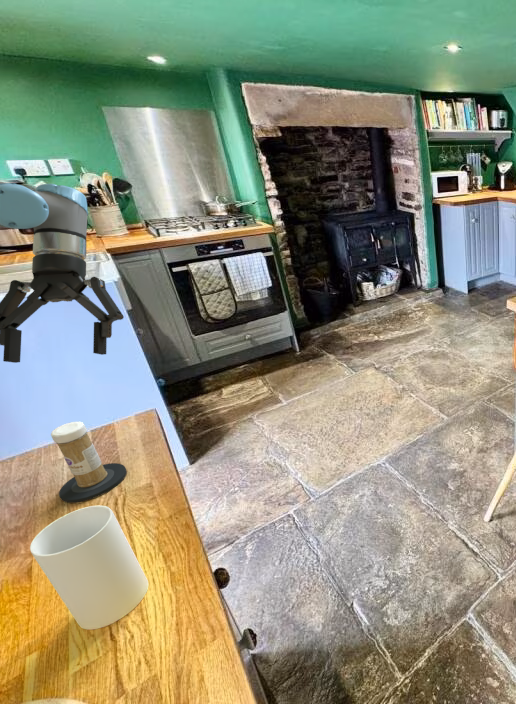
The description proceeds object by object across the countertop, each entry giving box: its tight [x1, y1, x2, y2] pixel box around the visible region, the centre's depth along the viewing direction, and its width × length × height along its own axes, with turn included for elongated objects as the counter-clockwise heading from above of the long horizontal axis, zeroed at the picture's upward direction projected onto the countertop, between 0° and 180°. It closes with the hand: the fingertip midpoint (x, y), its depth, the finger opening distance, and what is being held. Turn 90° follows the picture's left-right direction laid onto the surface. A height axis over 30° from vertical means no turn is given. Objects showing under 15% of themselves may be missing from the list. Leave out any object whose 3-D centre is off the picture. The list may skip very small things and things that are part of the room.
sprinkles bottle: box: [50, 421, 107, 487], centre depth 81 cm, size 5×5×14 cm
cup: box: [29, 504, 150, 631], centre depth 60 cm, size 8×8×16 cm
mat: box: [58, 462, 128, 504], centre depth 84 cm, size 10×10×1 cm
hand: (57, 357), depth 81 cm, fingers open, 13 cm apart
